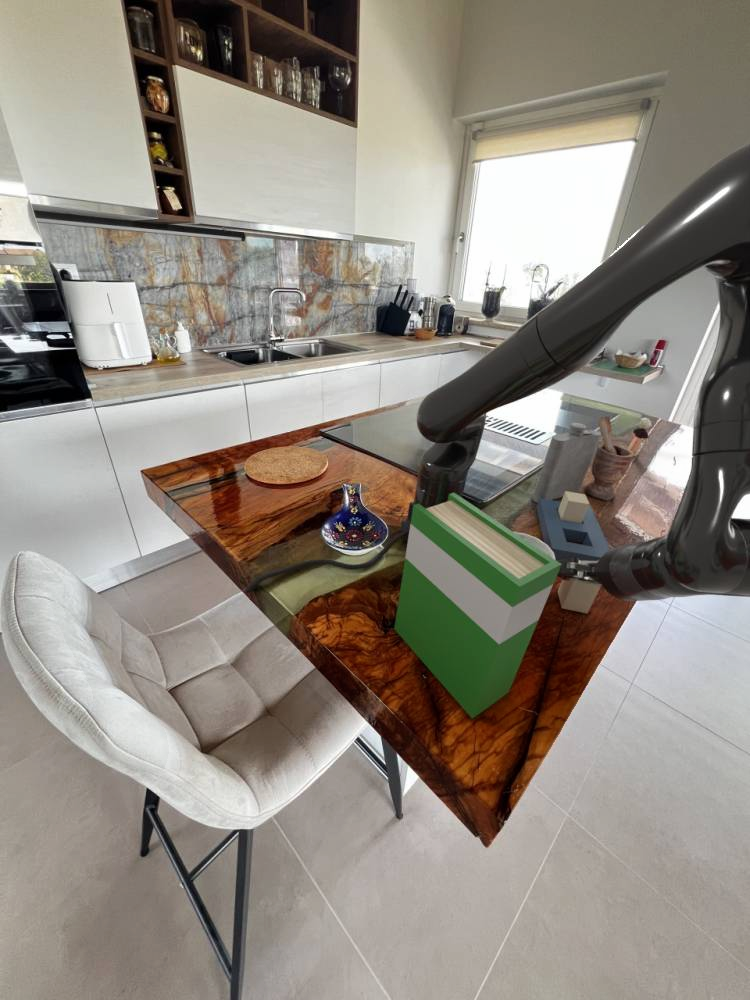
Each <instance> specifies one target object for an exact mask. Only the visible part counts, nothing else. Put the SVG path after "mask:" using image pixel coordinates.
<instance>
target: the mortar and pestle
mask: <svg viewBox="0 0 750 1000" xmlns="http://www.w3.org/2000/svg"><path fill="white" fill-rule="evenodd" d="M611 421H612V420H611V419H610V417H609V416H607V415H606V416H602V417H599V418H598V428H599V430H600V431H599V432H600V433H601V437H602V441H603V443H601V444H598V445H597V447H596V450H595V453H594V456H593V457H594V458H593V459H592V464H591V474H592V476H593V478H594V480H593V481H591V482H588V483H587V484H586V486H585V487H584V491H585V493H587V494H588V495H589V496H591V497H593V498H597V499H599V500H603V501H609V500H612V499H613V498H614V497H615V491H614V489H613V487H612V486H613V484H616V483H617V482H619V481H621V480H622V479H623V477H624V476H625V475H626V474H627V471H628V470H629V467H630V465H631V463H632V461H633V459H634V457H635V456H634V453H633V452H632V451H630V450H629V449H628V448H626V447H624V446H620V445H617V444H614V443H613V435H612V434H613V433H612V432H613V431H612V422H611Z"/></svg>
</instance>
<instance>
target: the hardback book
mask: <svg viewBox="0 0 750 1000" xmlns="http://www.w3.org/2000/svg"><path fill="white" fill-rule="evenodd" d="M514 532H515V531H513V530H511V529H510V528H508V527H506V526H505V525H504V524H502V523H500V522H499V521H497V520H496V519H495V518H493V517H491V515H488V514H487V513H485V512H484V511H482V510H481V509H480V508H478V507H476V506H475V505H474V504H472V503H470V502H469V501H468V500H466V499H464V498H463V497H462V498H461V497H460V496H458V495H457V494H455V493H451V494H449V497H448V502H445V503H442V504H439V505H435V506H432V507H429V508H426V509H425V508H424V507H423V506H421V505H420V504H416V505H413V512H412V518H411V524H410V531H409V537H408V543H406V551H405V557H404V563H403V570H402V576H401V583H400V591H399V595H398V603H397V609H396V614H395V615H396V616H395V621H394V627H393V628H394V631H395V632H396V633H397V634H398V635H399V637H401V639H402V640H403V641H404V642H405V643H406V645H408V647H409V648H410V649H411V651H413V653H414V654H415V655H416V656H417V657H418V659H419V660H421V662H422V663H423V664H424V666H426V667H427V669H428V670H429V671H430V672H431V673H432V675H434V677H435V678H436V679H437V680H438V681H439V682H440V684H441V685H443V687H444V688H445V689H446V691H447V692H448V693H449V694H450V695H451V697H453V698H454V700H455V701H456V702H457V703H458V704H459V706H461V708H462V709H463V711H465V712H466V714H467V715H468V716H469V717H470V718H471V719H474V718H476V717H477V716H479V715H480V714H481V713H483V712H484V711H485V710H487V709H488V708H489V707H491V706H492V705H494V704H495V703H496V702H497V701H499V700H500V699H502V698H503V697H505V696H506V695H508V693H509V692H510V690H511V688H512V685H513V683H514V680H515V678H516V676H517V673H518V671H519V668H520V666H521V664H522V661H523V658H524V656H525V654H526V651H527V649H528V647H529V644H530V642H531V640H532V637H533V634H534V632H535V629H536V627H537V624H538V622H539V620H540V618H541V615H542V613H543V610H544V608H545V605H546V603H547V601H548V598H549V596H550V593H551V591H552V588H553V586H554V584H555V581H556V579H557V577H558V576H557V574H558V572H559V569H560V567H561V565H562V564H561V563H559V562H558V561H556V560H555V559H553V558H552V557H550V556H549V555H547V554H546V553H544V552H543V551H541V550H540V549H538V548H537V547H535V546H534V545H532V544H531V543H529V542H528V541H526V540H525V539H523V538H522V537H520V536H519V535H517V534H516V533H514Z"/></svg>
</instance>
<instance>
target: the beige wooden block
mask: <svg viewBox="0 0 750 1000" xmlns="http://www.w3.org/2000/svg"><path fill="white" fill-rule="evenodd" d="M561 498H562V499H561V501H560V502H561V504H560V506H559V509H558V515H559V518H560V520H565V521H570V522H576V523H582V521H583V519H584V516H585V514H586V511H587V509H588V507H590V502H589V499H588V498H587V496H586V494H584V493H580V492H579V493H574V492H568V491H565V493H564V496H563V497H561Z"/></svg>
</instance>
